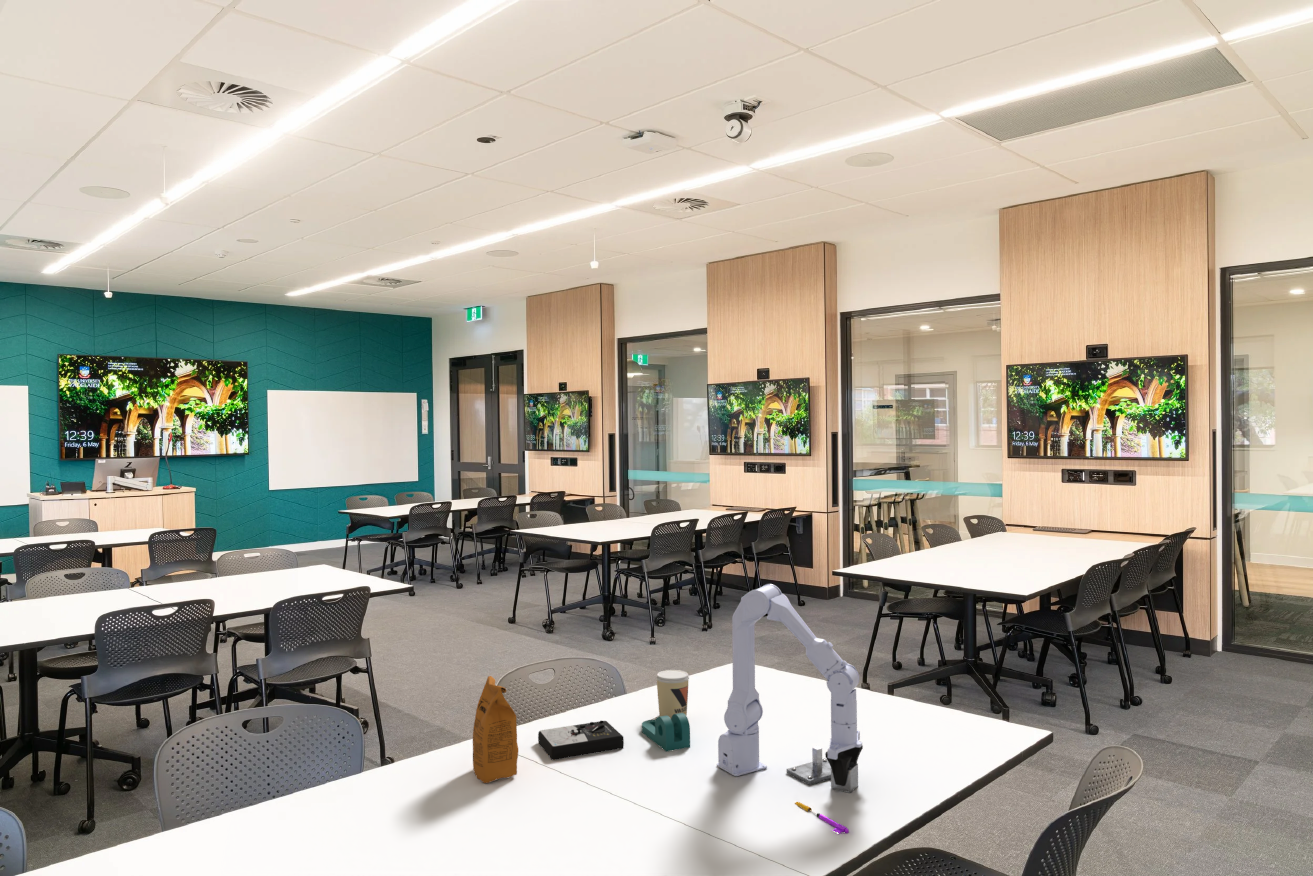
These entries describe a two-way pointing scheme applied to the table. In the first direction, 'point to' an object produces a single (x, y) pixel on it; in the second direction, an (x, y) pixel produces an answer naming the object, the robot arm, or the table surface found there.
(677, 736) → the bracket
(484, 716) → the coffee package
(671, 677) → the coffee cup
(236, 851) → the table surface
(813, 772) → the plate
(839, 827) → the purple and orange rod
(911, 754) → the table surface
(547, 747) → the black printed box
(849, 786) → the tube
